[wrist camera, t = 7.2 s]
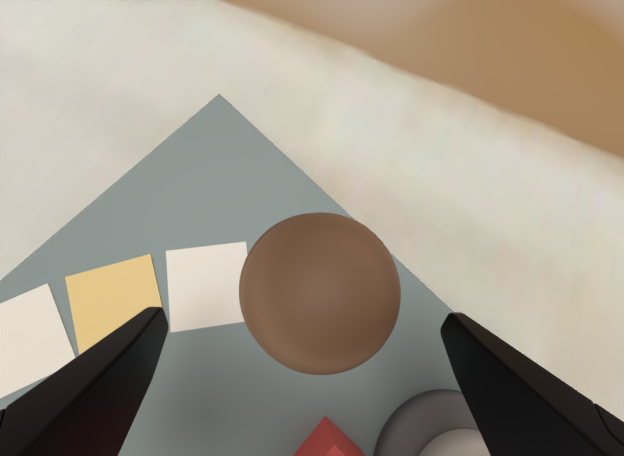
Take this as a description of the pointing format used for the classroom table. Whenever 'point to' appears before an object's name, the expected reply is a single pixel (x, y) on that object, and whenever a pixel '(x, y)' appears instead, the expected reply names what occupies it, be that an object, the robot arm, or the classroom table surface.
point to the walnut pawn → (320, 293)
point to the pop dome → (457, 444)
